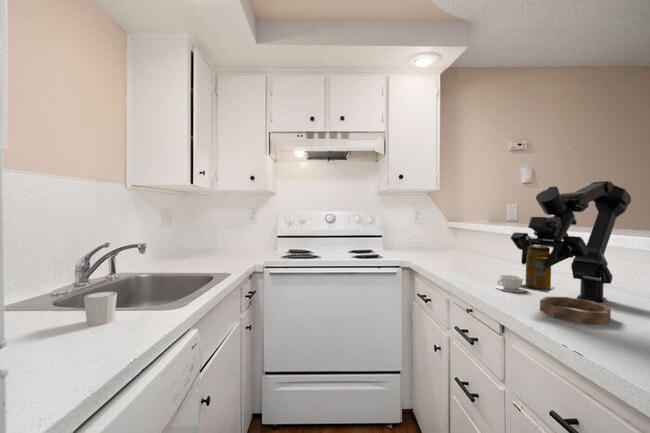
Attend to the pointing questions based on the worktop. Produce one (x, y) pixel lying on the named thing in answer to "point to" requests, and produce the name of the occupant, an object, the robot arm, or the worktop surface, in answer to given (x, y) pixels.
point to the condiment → (537, 270)
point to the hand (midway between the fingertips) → (533, 265)
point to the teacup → (510, 283)
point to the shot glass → (100, 308)
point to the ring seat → (575, 310)
